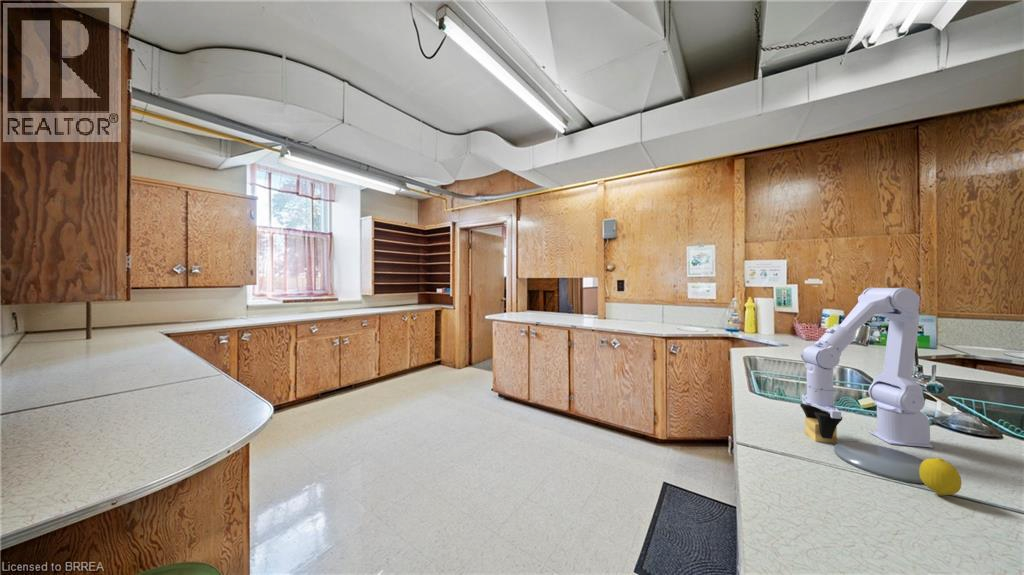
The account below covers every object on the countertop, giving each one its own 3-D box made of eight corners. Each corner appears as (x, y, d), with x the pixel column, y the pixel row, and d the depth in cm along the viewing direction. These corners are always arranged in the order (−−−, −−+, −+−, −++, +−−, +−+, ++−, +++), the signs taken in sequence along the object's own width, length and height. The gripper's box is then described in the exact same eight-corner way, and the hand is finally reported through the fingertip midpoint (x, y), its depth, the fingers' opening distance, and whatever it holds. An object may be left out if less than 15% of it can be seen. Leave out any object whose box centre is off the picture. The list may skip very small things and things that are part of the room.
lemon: (971, 505, 67) (970, 466, 67) (937, 502, 68) (937, 463, 68) (941, 488, 73) (941, 452, 73) (911, 486, 74) (910, 450, 74)
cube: (825, 435, 98) (825, 418, 98) (836, 443, 94) (836, 425, 94) (805, 433, 100) (805, 417, 100) (815, 441, 95) (815, 424, 95)
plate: (898, 449, 90) (898, 446, 90) (969, 489, 72) (969, 484, 72) (818, 442, 94) (818, 438, 94) (866, 478, 77) (866, 473, 77)
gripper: (790, 379, 105) (790, 422, 105) (818, 394, 91) (819, 443, 91) (817, 381, 103) (817, 424, 103) (850, 396, 89) (851, 446, 89)
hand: (820, 433), depth 97 cm, fingers closed on cube, 5 cm apart
